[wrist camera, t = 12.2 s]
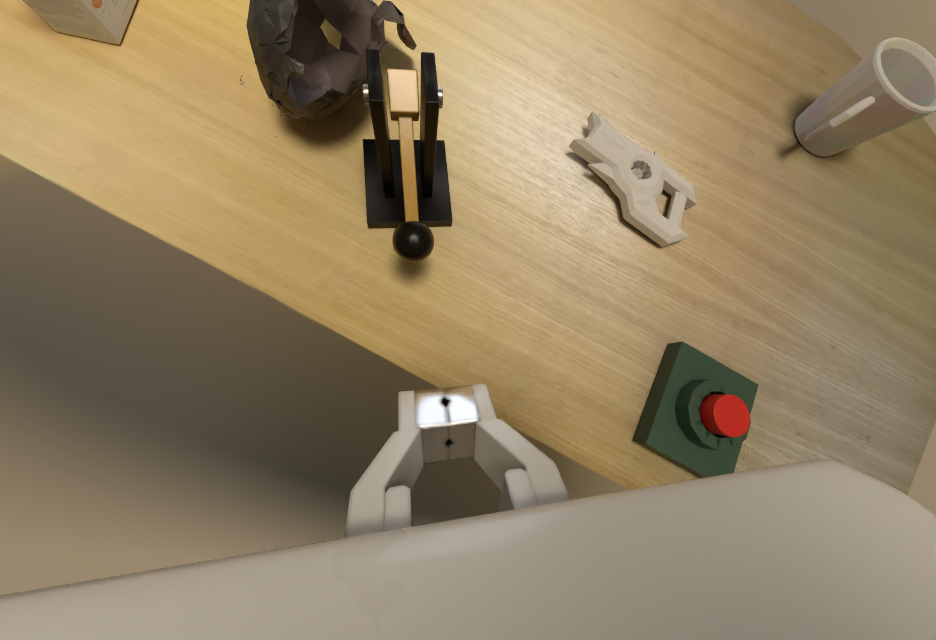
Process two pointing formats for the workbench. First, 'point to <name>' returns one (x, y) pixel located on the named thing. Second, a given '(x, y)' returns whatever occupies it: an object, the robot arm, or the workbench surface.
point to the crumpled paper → (317, 50)
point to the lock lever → (408, 166)
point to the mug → (871, 98)
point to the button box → (691, 412)
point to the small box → (86, 17)
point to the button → (725, 415)
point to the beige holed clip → (637, 180)
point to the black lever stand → (386, 154)
